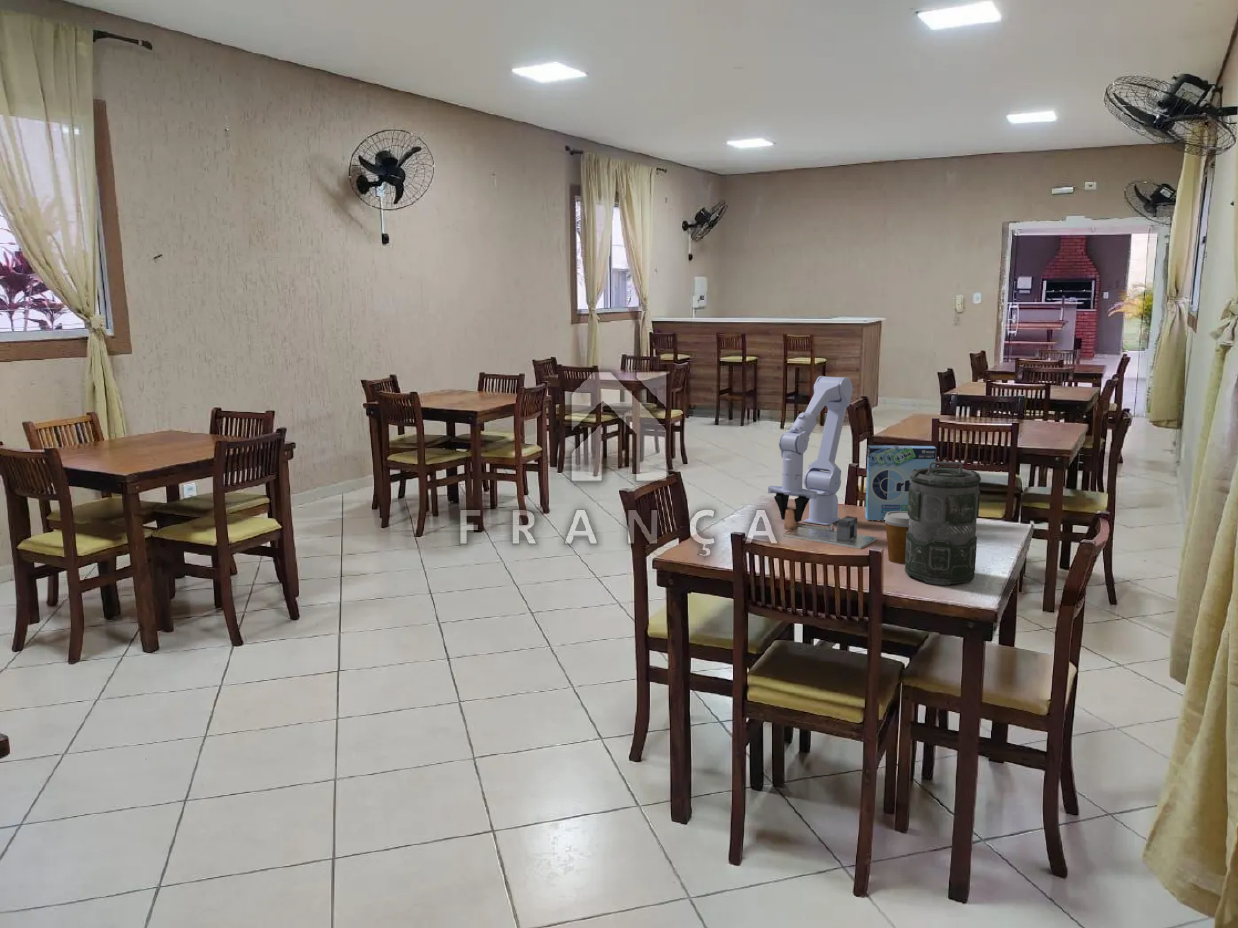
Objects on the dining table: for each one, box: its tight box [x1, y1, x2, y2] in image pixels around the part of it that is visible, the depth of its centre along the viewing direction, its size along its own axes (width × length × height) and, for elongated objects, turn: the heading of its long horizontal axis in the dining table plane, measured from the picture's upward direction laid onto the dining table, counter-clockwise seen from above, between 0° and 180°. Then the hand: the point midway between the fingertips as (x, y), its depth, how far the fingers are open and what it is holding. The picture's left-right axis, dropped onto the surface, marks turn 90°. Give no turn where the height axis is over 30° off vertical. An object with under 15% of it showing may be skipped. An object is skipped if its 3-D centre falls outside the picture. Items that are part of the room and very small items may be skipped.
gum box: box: [864, 444, 937, 522], centre depth 259 cm, size 19×5×23 cm, turn 82°
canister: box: [904, 461, 982, 586], centre depth 203 cm, size 16×16×28 cm
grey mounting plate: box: [782, 515, 878, 550], centre depth 241 cm, size 12×23×6 cm, turn 52°
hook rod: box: [783, 506, 835, 532], centre depth 244 cm, size 15×4×6 cm, turn 52°
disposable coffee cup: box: [884, 511, 909, 565], centre depth 218 cm, size 10×10×12 cm
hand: (791, 520), depth 248 cm, fingers closed on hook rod, 4 cm apart
